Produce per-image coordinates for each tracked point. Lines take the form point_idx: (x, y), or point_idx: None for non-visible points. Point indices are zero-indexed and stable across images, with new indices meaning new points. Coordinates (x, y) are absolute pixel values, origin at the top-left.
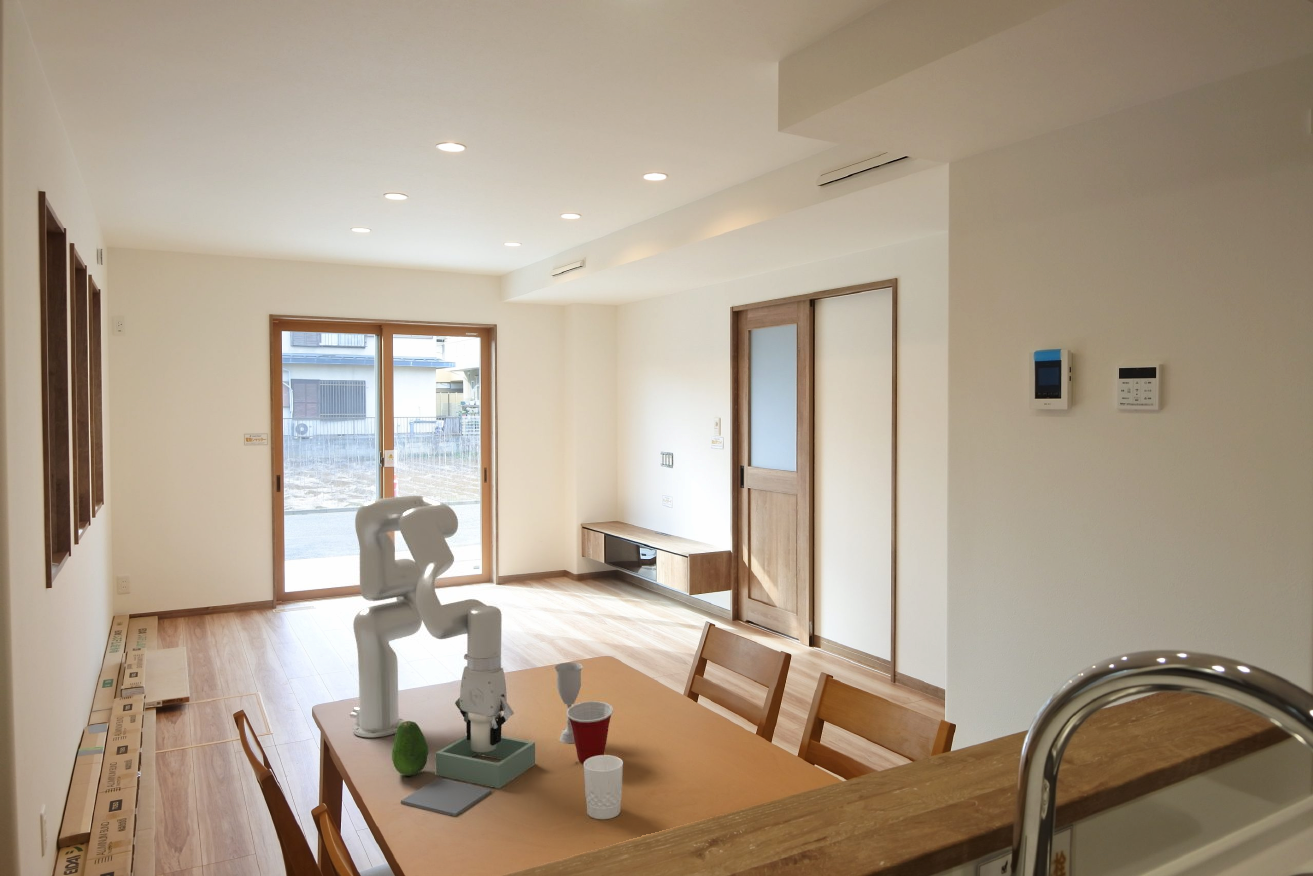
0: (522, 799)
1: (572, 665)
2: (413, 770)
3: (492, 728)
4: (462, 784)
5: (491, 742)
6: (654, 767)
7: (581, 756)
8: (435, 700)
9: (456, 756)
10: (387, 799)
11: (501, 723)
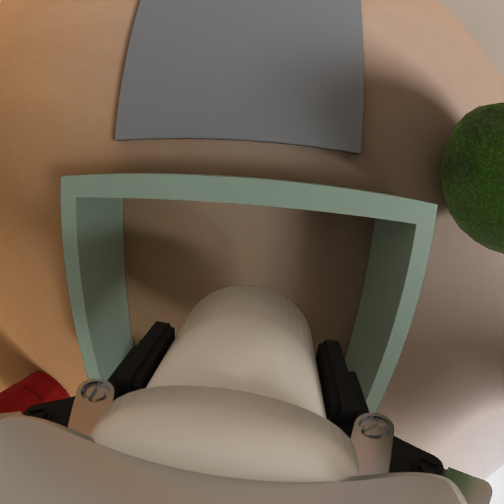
0: (35, 149)
1: None
2: (452, 131)
3: (114, 378)
4: (234, 127)
5: (156, 328)
6: None
7: (38, 383)
8: (475, 471)
9: (315, 188)
10: (409, 11)
11: (55, 402)
